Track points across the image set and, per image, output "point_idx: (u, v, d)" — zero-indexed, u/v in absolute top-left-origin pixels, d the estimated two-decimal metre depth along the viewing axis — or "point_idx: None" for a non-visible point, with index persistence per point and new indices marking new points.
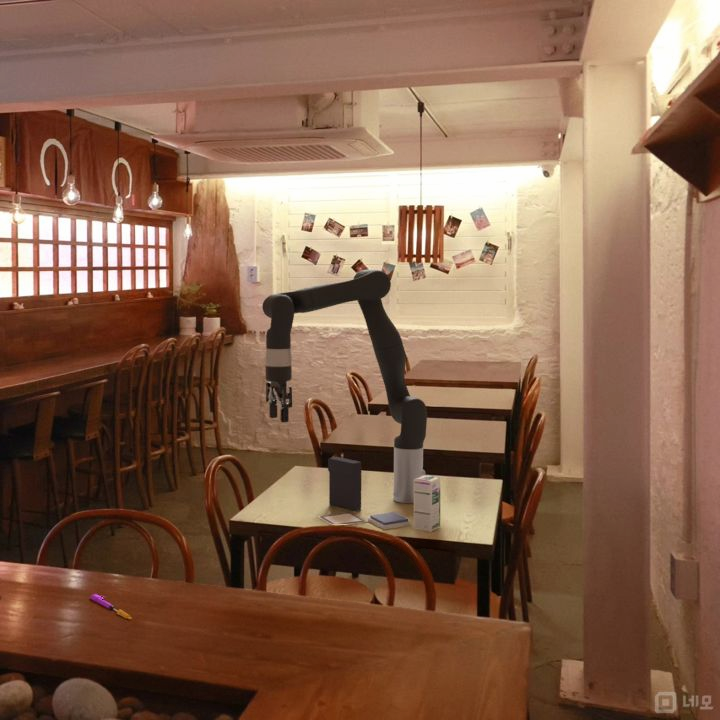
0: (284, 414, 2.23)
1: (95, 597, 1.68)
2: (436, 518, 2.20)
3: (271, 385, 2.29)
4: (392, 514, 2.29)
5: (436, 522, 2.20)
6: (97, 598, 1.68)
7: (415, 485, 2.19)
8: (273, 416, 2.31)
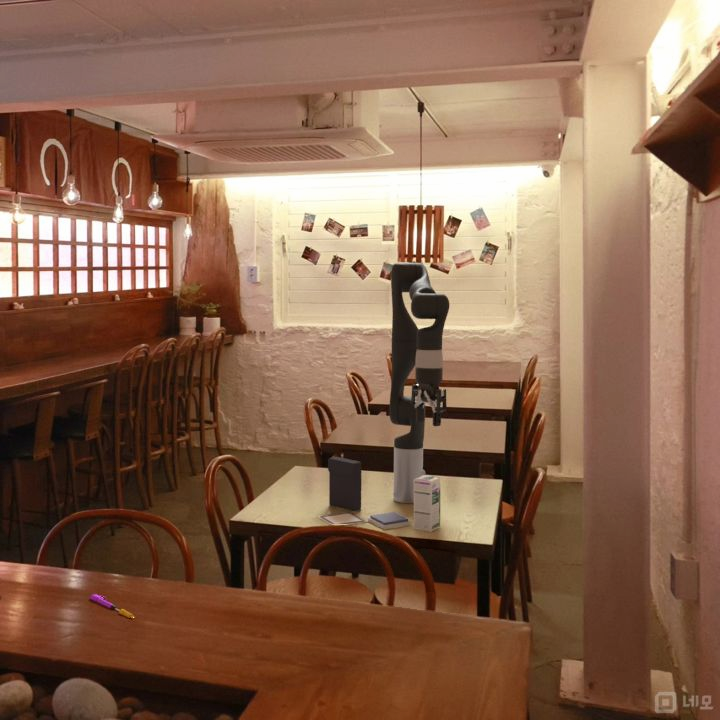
0: (437, 418, 2.14)
1: (95, 597, 1.68)
2: (436, 518, 2.20)
3: (419, 387, 2.20)
4: (392, 514, 2.29)
5: (436, 522, 2.20)
6: (97, 598, 1.68)
7: (415, 485, 2.19)
8: (420, 420, 2.23)
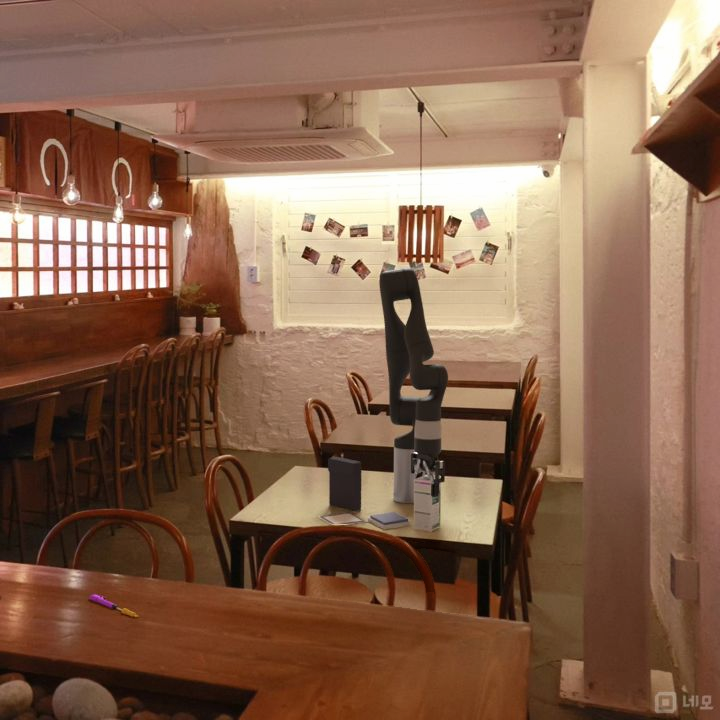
0: (435, 489, 2.16)
1: (95, 597, 1.68)
2: (436, 518, 2.20)
3: (418, 456, 2.22)
4: (392, 514, 2.29)
5: (437, 522, 2.20)
6: (97, 598, 1.68)
7: (415, 485, 2.19)
8: None
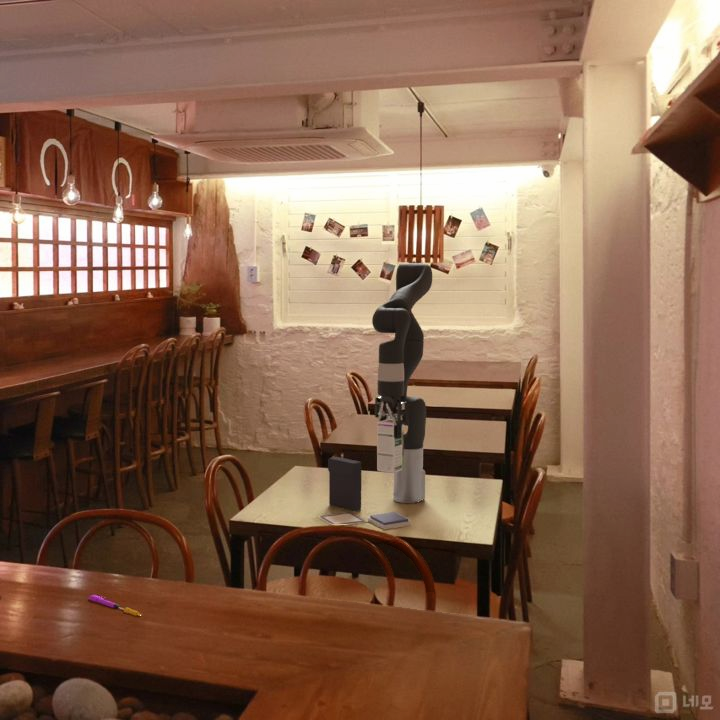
0: (398, 430, 2.19)
1: (95, 597, 1.68)
2: (399, 460, 2.24)
3: (382, 400, 2.25)
4: (392, 514, 2.29)
5: (399, 464, 2.24)
6: (97, 598, 1.68)
7: (378, 427, 2.23)
8: None
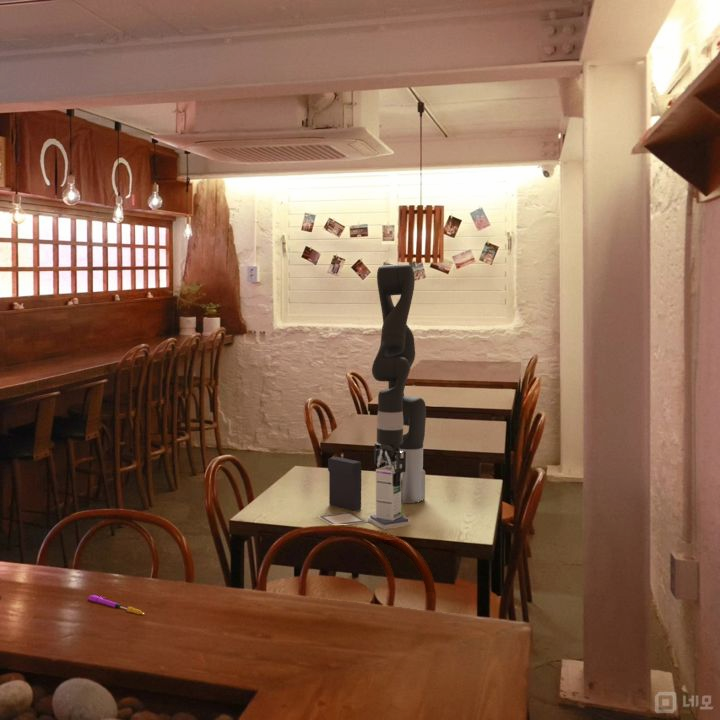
0: (397, 479, 2.21)
1: (95, 597, 1.68)
2: (398, 507, 2.25)
3: (381, 447, 2.27)
4: None
5: (398, 511, 2.25)
6: (98, 598, 1.68)
7: (377, 475, 2.24)
8: None
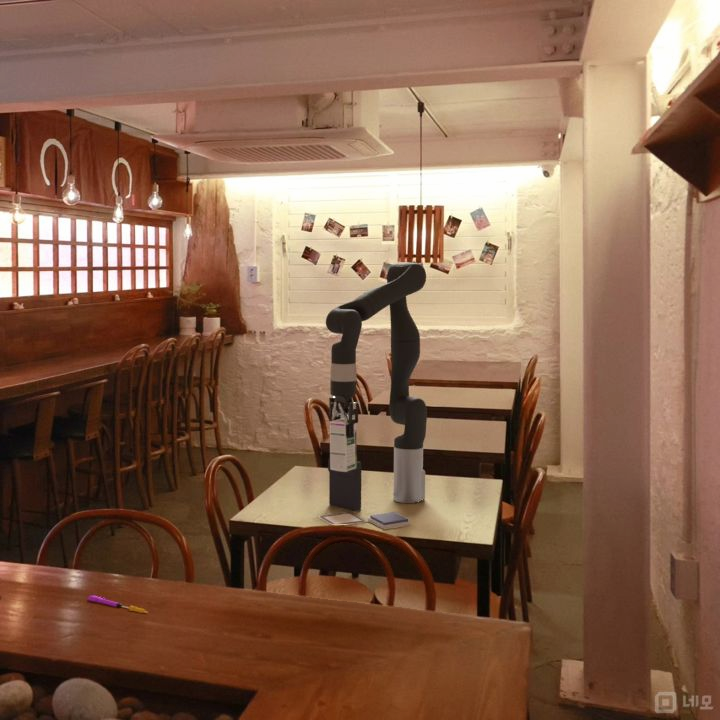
0: (350, 430, 2.22)
1: (95, 597, 1.68)
2: (352, 459, 2.26)
3: (335, 400, 2.28)
4: (392, 514, 2.29)
5: (352, 463, 2.27)
6: (98, 598, 1.68)
7: (331, 427, 2.26)
8: None
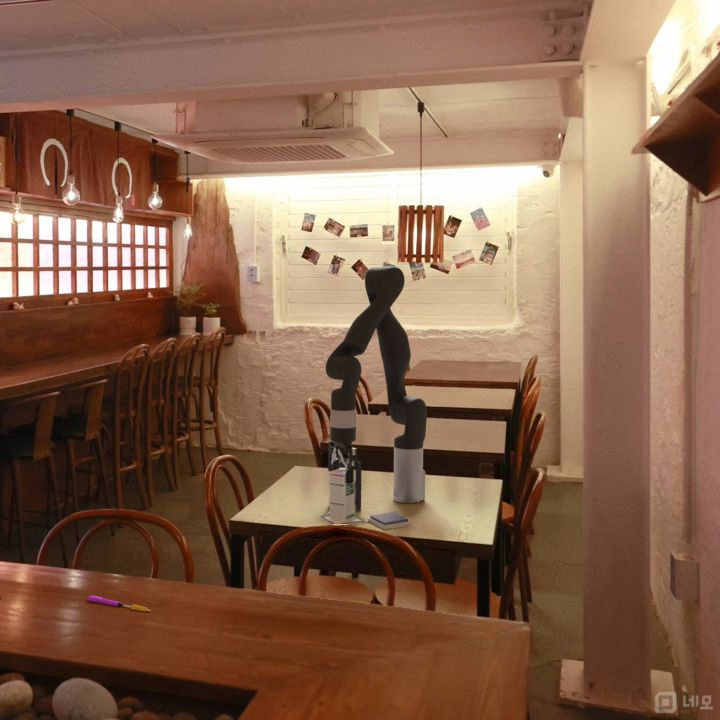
0: (349, 475, 2.23)
1: (95, 598, 1.68)
2: (351, 509, 2.28)
3: (335, 445, 2.29)
4: (392, 514, 2.29)
5: (351, 513, 2.28)
6: (98, 598, 1.68)
7: (330, 477, 2.27)
8: None
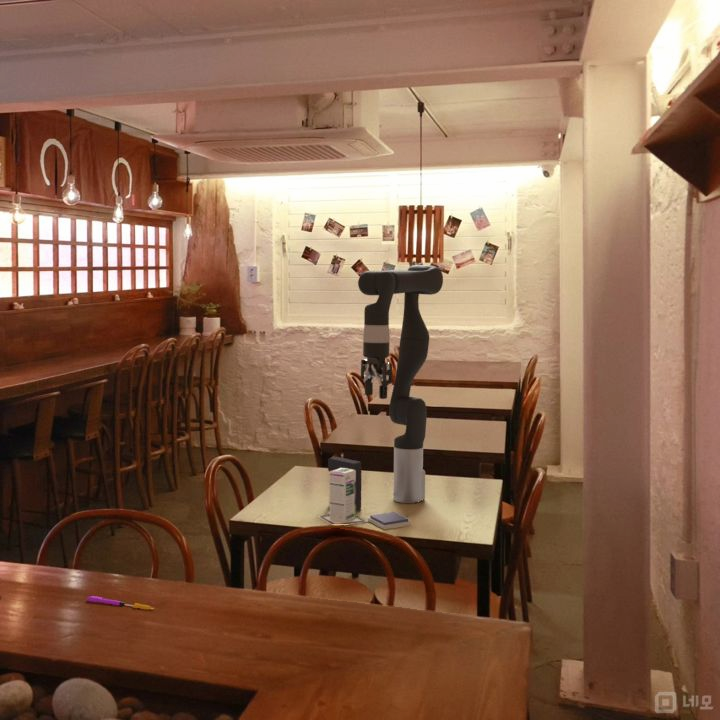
0: (383, 390, 2.22)
1: (95, 598, 1.68)
2: (351, 509, 2.28)
3: (368, 362, 2.28)
4: (392, 514, 2.29)
5: (351, 513, 2.28)
6: (98, 599, 1.67)
7: (330, 477, 2.27)
8: (369, 393, 2.30)
